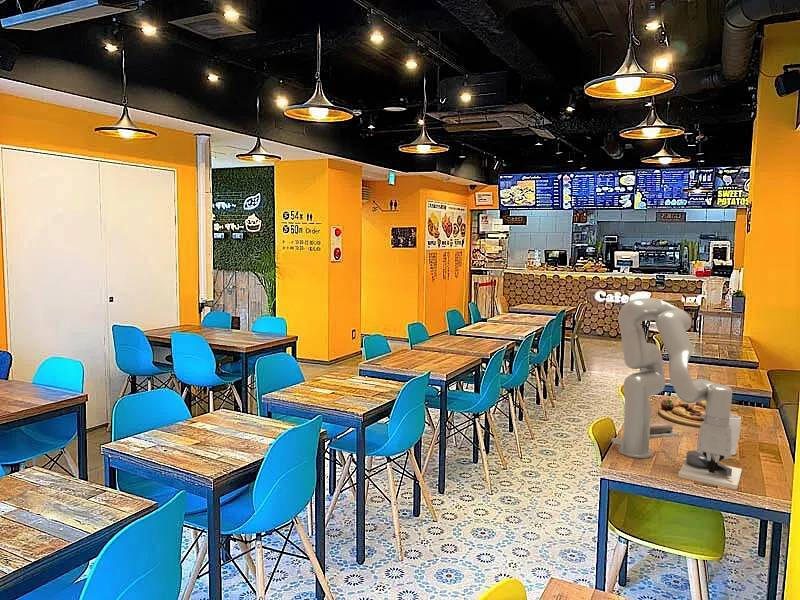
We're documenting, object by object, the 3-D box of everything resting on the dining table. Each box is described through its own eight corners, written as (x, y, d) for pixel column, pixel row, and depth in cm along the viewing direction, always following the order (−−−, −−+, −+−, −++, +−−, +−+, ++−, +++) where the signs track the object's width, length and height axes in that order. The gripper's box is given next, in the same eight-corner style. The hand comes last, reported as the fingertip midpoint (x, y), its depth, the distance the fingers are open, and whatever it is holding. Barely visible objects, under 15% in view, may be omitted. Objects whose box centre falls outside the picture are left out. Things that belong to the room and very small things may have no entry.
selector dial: (680, 460, 221) (681, 451, 221) (700, 458, 224) (701, 449, 224) (718, 479, 205) (719, 469, 204) (739, 476, 207) (740, 467, 207)
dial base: (676, 476, 211) (677, 471, 211) (685, 461, 226) (685, 456, 226) (736, 489, 201) (737, 484, 201) (741, 472, 216) (742, 467, 216)
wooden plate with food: (646, 417, 283) (647, 400, 282) (675, 404, 305) (676, 389, 304) (718, 436, 260) (720, 417, 259) (744, 421, 281) (746, 404, 280)
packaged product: (642, 429, 250) (627, 421, 260) (641, 440, 250) (626, 432, 260) (679, 426, 254) (663, 419, 264) (678, 437, 255) (662, 430, 265)
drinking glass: (720, 449, 240) (723, 412, 239) (740, 453, 236) (743, 415, 234) (716, 453, 235) (719, 416, 233) (736, 457, 231) (739, 419, 229)
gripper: (691, 418, 208) (686, 469, 210) (740, 427, 200) (735, 480, 202) (694, 413, 214) (690, 463, 217) (742, 422, 206) (737, 473, 208)
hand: (712, 471), depth 209 cm, fingers closed
